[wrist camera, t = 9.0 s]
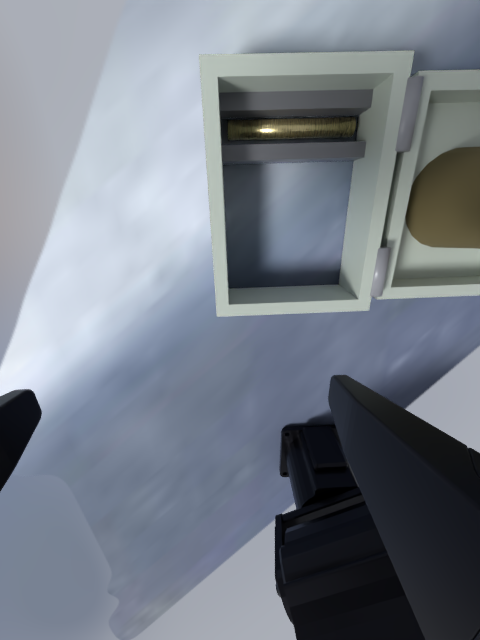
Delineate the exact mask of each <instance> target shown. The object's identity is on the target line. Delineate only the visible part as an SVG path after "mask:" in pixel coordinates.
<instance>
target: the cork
mask: <svg viewBox="0 0 480 640" xmlns="http://www.w3.org/2000/svg"><path fill="white" fill-rule="evenodd" d="M405 219H406V225H407V227H408V229H409V231H410V233H411V235H412V236H413V237H414V238H415V239H416V240H417V241H418V242H419V243H421V244H424V245H427V246H430V247H439V248H475V249H480V147H461V148H455V149H452V150H450V151H447V152H444V153H442V154H440V155H439V156H438V157H436V158H435V159H434V160H432V161H431V162H429V163H428V164H427V165H426V166H425V167H424V169H423V170H422V171H421V172H420V173H419V175H418V176H417V177H416V178H415V180H414V182H413V184H412V186H411V191H410V196H409V201H408V206H407V211H406V216H405Z"/></svg>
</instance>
